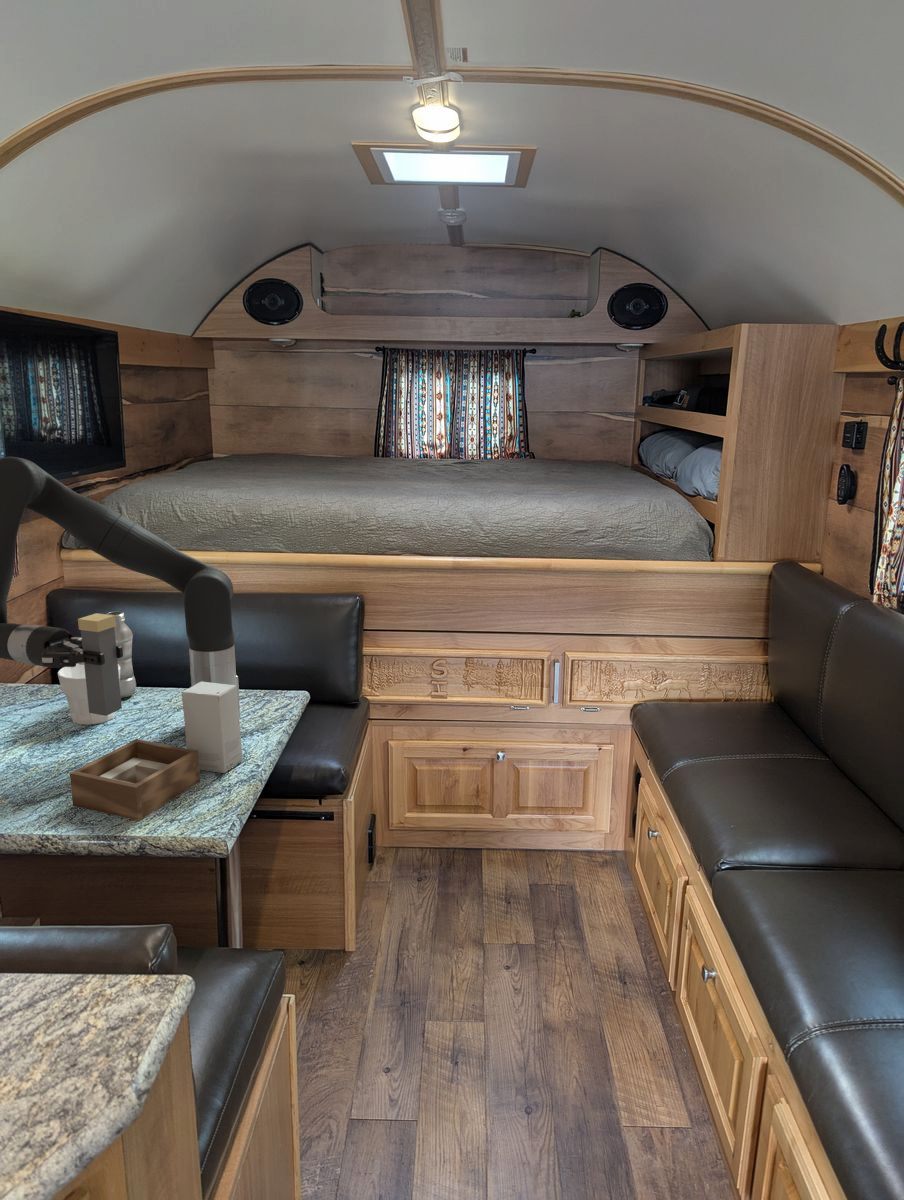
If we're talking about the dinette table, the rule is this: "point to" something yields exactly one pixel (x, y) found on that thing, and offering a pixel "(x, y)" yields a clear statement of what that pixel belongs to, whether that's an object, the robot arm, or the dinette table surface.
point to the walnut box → (135, 779)
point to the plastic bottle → (124, 655)
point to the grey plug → (101, 677)
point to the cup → (79, 695)
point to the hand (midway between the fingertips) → (112, 655)
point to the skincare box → (213, 725)
